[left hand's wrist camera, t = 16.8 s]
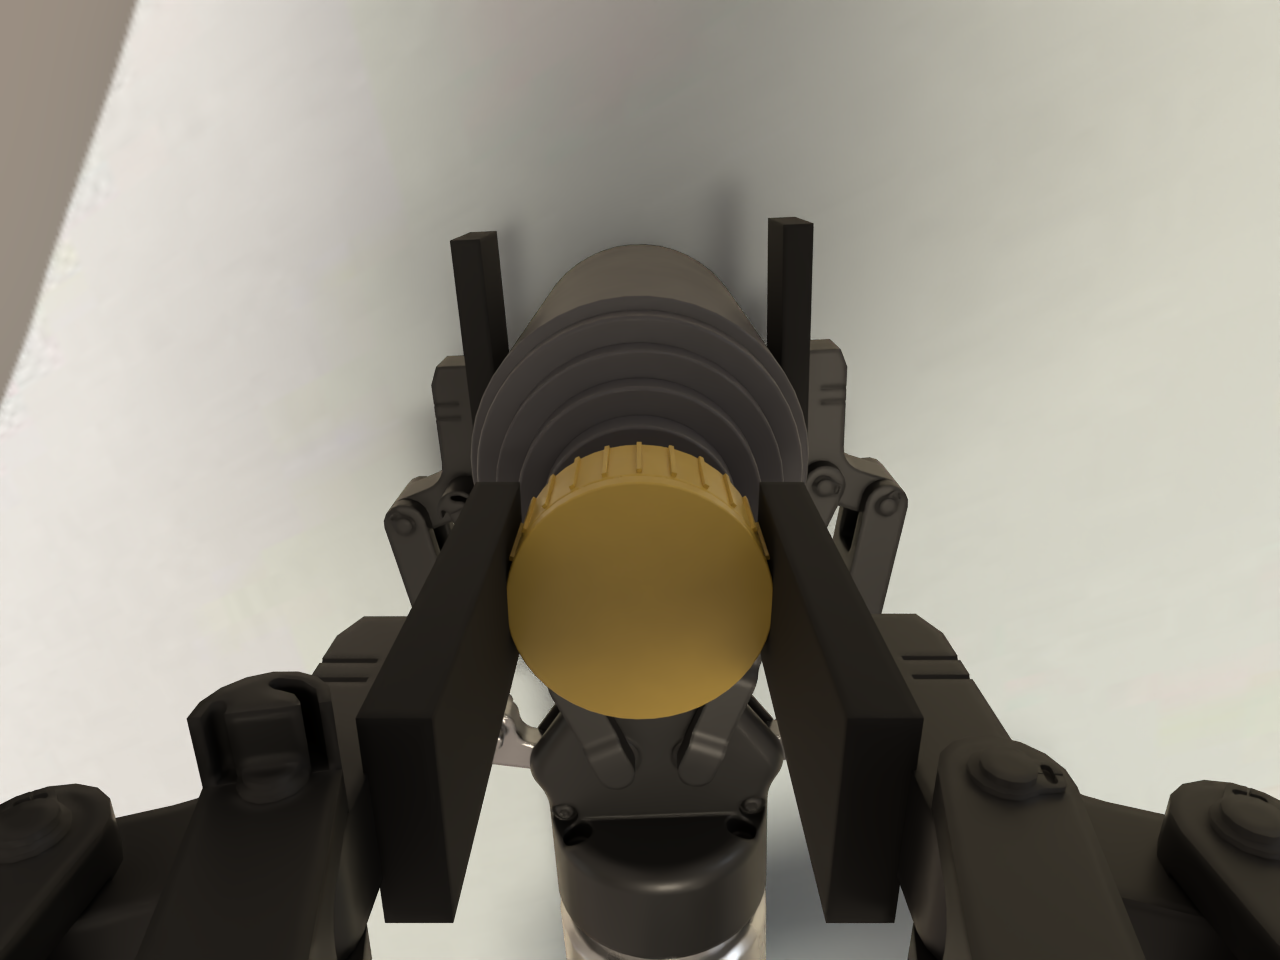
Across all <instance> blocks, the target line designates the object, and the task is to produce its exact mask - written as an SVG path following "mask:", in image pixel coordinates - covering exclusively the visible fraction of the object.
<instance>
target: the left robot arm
mask: <svg viewBox="0 0 1280 960" xmlns="http://www.w3.org/2000/svg"><path fill="white" fill-rule="evenodd" d="M757 522H759V525H760V528H761V531H762V534H763V537H764V540H765V543H766V546H767V550H768V553H769V556H770V559H769V560H767V563H768V566H769V569H770V573H771V576H772V581H773V592H772V609H771V624H770V631H769V634H768V637H767V640H766V642H765V644H764V646H763V648H762V650H761V652H760V655H761V659H762V663H763V667H764V671H765V675H766V679H767V683H768V687H769V691H770V695H771V700H772V704H773V708H774V712H775V716H776V720H777V724H778V728H779V732H780V736H781V740H782V744H783V749H784V753H785V757H786V761H787V765H788V769H789V773H790V777H791V781H792V785H793V789H794V794H795V798H796V802H797V806H798V810H799V814H800V818H801V822H802V826H803V830H804V834H805V839H806V843H807V847H808V851H809V855H810V859H811V863H812V867H813V871H814V875H815V879H816V884H817V888H818V892H819V896H820V900H821V904H822V908H823V912H824V916H825V920H826V923H894V922H895V915H896V908H897V901H898V894H899V887H900V886H901V888H902V891H903V894H904V897H905V900H906V902H907V905H908V908H909V911H910V913H911V916H912V919H913V929H912V935H911V941H910V948H909V954H908V960H1280V800H1278V799H1276V798H1274V797H1272V796H1270V795H1268V794H1266V793H1264V792H1260V791H1258V790H1255V789H1252V788H1247V787H1245V786H1241V785H1237V784H1234V783H1228V782H1219V781H1209V780H1202V781H1196V782H1191V783H1185V784H1182V785H1181V786H1180V787H1179V788H1178V789H1176V790H1175V791H1174V792H1173V793H1172V794H1171V795H1170V798H1169V802H1168V805H1167V809H1166V812H1165V815H1164V814H1160V813H1155V812H1150V811H1146V810H1141V809H1137V808H1132V807H1128V806H1123V805H1119V804H1114V803H1109V802H1105V801H1102V800H1098V799H1095V798H1091V797H1088V796H1084V795H1082V794H1080V792H1079V790H1078V787H1077V786H1076V784H1075V783H1074V781H1073V780H1072V778H1071V777H1070V775H1069V774H1068V772H1067V771H1066V770H1065V769H1064V768H1063V767H1062V766H1060V765H1059V764H1058V763H1057V762H1055V761H1054V760H1053V759H1051V758H1050V757H1049V756H1048V755H1046V754H1045V753H1043V752H1040V751H1038V750H1036V749H1034V748H1032V747H1030V746H1028V745H1025V744H1023V743H1021V742H1017V741H1013V740H1011V738H1010V737H1009V735H1008V734H1007V732H1006V731H1005V729H1004V727H1003V726H1002V724H1001V723H1000V721H999V720H998V718H997V717H996V715H995V713H994V712H993V710H992V709H991V707H990V706H989V704H988V703H987V701H986V699H985V698H984V696H983V695H982V693H981V692H980V690H979V689H978V687H977V685H976V684H975V682H974V681H973V679H970V678H969V673H968V671H967V670H966V668H965V667H964V665H963V664H962V662H961V661H960V660H958V659H957V654H956V653H955V651H954V650H953V648H952V647H951V645H950V643H949V642H948V640H947V639H946V637H945V636H944V634H943V633H942V632H940V631H939V630H938V629H936V628H935V627H933V626H932V625H931V624H929V623H928V622H926V621H925V620H924V619H922V618H921V617H919V616H918V615H917V614H871V613H870V611H869V609H868V607H867V606H866V604H865V602H864V600H863V598H862V596H861V594H860V592H859V590H858V588H857V586H856V584H855V582H854V580H853V578H852V576H851V574H850V572H849V570H848V568H847V566H846V564H845V562H844V560H843V559H842V557H841V555H840V553H839V551H838V549H837V547H836V545H835V543H834V541H833V539H832V537H831V535H830V533H829V531H828V529H827V527H826V525H825V523H824V521H823V519H822V517H821V515H820V514H819V512H818V510H817V508H816V506H815V504H814V502H813V500H812V498H811V496H810V494H809V492H808V490H807V488H806V486H805V484H804V482H760V483H759V502H758V520H757ZM520 523H522V511H521V493H520V482H476V483H475V485H474V487H473V489H472V491H471V493H470V495H469V497H468V499H467V501H466V503H465V505H464V507H463V509H462V510H461V512H460V514H459V516H458V518H457V520H456V522H455V524H454V526H453V528H452V530H451V532H450V534H449V536H448V538H447V540H446V542H445V544H444V546H443V548H442V550H441V552H440V554H439V555H438V557H437V559H436V561H435V563H434V565H433V567H432V569H431V571H430V573H429V575H428V577H427V579H426V581H425V583H424V585H423V587H422V589H421V591H420V593H419V595H418V597H417V599H416V600H415V602H414V604H413V606H412V608H411V610H410V612H409V614H408V616H364V617H363V618H361V619H360V620H358V621H357V622H356V623H354V624H353V625H351V626H350V627H349V628H347V629H346V630H344V631H343V632H342V633H340V634H339V635H337V637H336V638H335V640H334V641H333V643H332V644H331V646H330V648H329V649H328V651H327V652H326V654H325V655H324V657H323V658H322V659H323V661H322V663H319V665H318V666H317V668H316V669H315V671H314V673H313V674H312V675H309V674H305V673H302V672H270V673H265V674H261V675H256V676H251V677H246V678H244V679H241V680H239V681H237V682H234V683H232V684H229V685H227V686H224V687H222V688H220V689H218V690H217V691H216V692H214V693H213V694H211V695H210V696H208V697H207V698H205V699H204V700H202V701H201V702H199V704H198V705H197V706H196V707H195V709H194V710H193V711H192V713H191V714H190V715H189V716H188V718H187V722H188V726H189V730H190V735H191V739H192V743H193V748H194V752H195V756H196V761H197V765H198V769H199V773H200V778H201V782H202V786H203V789H202V791H201V794H200V796H199V798H197V799H194V800H190V801H187V802H183V803H180V804H176V805H173V806H168V807H163V808H159V809H154V810H150V811H145V812H141V813H136V814H132V815H127V816H123V817H118V818H115V815H114V811H113V808H112V804H111V800H110V798H109V797H108V796H107V795H106V794H104V793H103V792H102V791H101V790H100V789H99V788H97V787H91V786H86V785H81V784H68V785H58V786H49V787H45V788H42V789H38V790H34V791H32V792H28V793H25V794H22V795H19V796H16V797H14V798H12V799H10V800H8V801H6V802H4V803H2V804H0V960H372V955H371V948H370V942H369V935H368V929H367V922H368V919H369V916H370V913H371V911H372V908H373V905H374V902H375V899H376V897H377V894H378V891H379V888H380V891H381V898H382V905H383V912H384V919H385V923H453V922H454V918H455V914H456V910H457V906H458V902H459V898H460V894H461V890H462V885H463V881H464V877H465V873H466V869H467V865H468V861H469V857H470V853H471V849H472V845H473V841H474V836H475V832H476V828H477V824H478V820H479V816H480V812H481V808H482V804H483V800H484V796H485V791H486V787H487V783H488V779H489V775H490V771H491V767H492V763H493V759H494V755H495V751H496V746H497V742H498V738H499V734H500V730H501V726H502V722H503V718H504V714H505V710H506V706H507V701H508V697H509V693H510V689H511V685H512V681H513V677H514V673H515V669H516V665H517V661H518V657H519V652H518V650H517V648H516V646H515V643H514V641H513V639H512V636H511V633H510V629H509V617H508V602H507V579H508V573H509V570H510V567H511V564H512V561H510V559H509V557H510V554H511V551H512V548H513V545H514V542H515V539H516V536H517V533H518V530H519V527H520Z"/></svg>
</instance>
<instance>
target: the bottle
mask: <svg viewBox="0 0 1280 960" xmlns="http://www.w3.org/2000/svg"><path fill="white" fill-rule="evenodd" d="M637 442H642V445H653V446H662V447H667V448H668V447H669V445H671V446H674V449H675V450H678V451H681V452H684V453H687V454H690V455H692V456H694V457H696V458H698V457H699V456H701V457H703V458H704V462H706V463H707V464H709V465H710V466H712V467H713V468H714V469H716V470H717V471H719V472H720V473H721V474H722V475H724V474H725V473H726V474H727V475H728V476H729V479H730V482H731V483H732V485H733V486H734V487H735V488H736V489H737V490H738V492H739V493H740V494H741V496H742V497H744V496H746V497H747V499H748V502H749V505H750V508H751V511H752V514H753V517H754V520H755V523H756V522H757V520H758V502H759V483H760V482H804V484H806V479H807V473H808V456H809V451H808V438H807V430H806V425H805V421H804V416H803V412H802V409H801V406H800V404H799V401H798V399H797V396H796V393H795V391H794V389H793V387H792V385H791V383H790V382H789V380H788V378H787V376H786V374H785V373H784V371H783V369H782V368H781V367H780V365H779V364H778V362H777V361H776V359H775V358H774V356H773V355H772V354H771V352H770V351H769V349H768V348H767V346H766V345H765V343H764V342H763V340H762V339H761V338H760V336H759V335H758V333H757V332H756V330H755V329H754V327H753V326H752V325H751V323H750V322H749V320H748V319H747V317H746V316H745V314H744V313H743V311H742V310H741V309H740V307H739V306H738V304H737V303H736V301H735V300H734V298H733V297H732V296H731V294H730V293H729V291H728V290H727V289H726V287H725V286H724V285H723V283H722V282H721V281H720V280H719V279H718V278H717V277H716V276H715V275H714V274H713V273H712V272H711V271H710V270H709V269H708V268H706V267H705V266H704V265H702V264H701V263H700V262H698V261H696V260H695V259H693V258H691V257H689V256H688V255H685V254H683V253H681V252H678V251H676V250H673V249H669V248H665V247H661V246H655V245H646V244H639V245H625V246H619V247H614V248H611V249H607V250H604V251H601V252H599V253H597V254H595V255H592V256H590V257H588V258H587V259H585V260H583V261H582V262H580V263H579V264H577V265H576V266H575V267H573V268H572V269H571V270H570V271H569V272H567V273H566V274H565V275H564V276H563V277H562V279H561V280H560V281H559V282H558V283H557V284H556V285H555V287H554V288H553V290H552V291H551V292H550V294H549V295H548V297H547V298H546V300H545V301H544V303H543V304H542V306H541V307H540V308H539V310H538V311H537V313H536V314H535V316H534V317H533V319H532V320H531V321H530V323H529V324H528V326H527V327H526V329H525V330H524V332H523V333H522V335H521V336H520V337H519V339H518V340H517V342H516V343H515V345H514V346H513V348H512V349H511V350H510V352H509V353H508V355H507V356H506V358H505V359H504V361H503V362H502V364H501V365H500V366H499V368H498V369H497V371H496V372H495V374H494V375H493V377H492V378H491V380H490V382H489V384H488V386H487V388H486V390H485V392H484V394H483V396H482V399H481V402H480V405H479V408H478V411H477V414H476V418H475V423H474V428H473V434H472V445H471V465H472V475H473V482H474V485H475V483H476V482H520V493H521V511H522V523H523V524H524V521H525V517H526V514H527V511H528V508H529V505H530V502H531V499H532V498H533V497H535V498H537V497H538V495H539V494H540V492H541V491H542V490H543V488H544V487H545V486H546V485H547V484H548V482H549V478H550V476H551V475H552V474H554V475H555V476H556V475H557V474H559V473H560V472H561V471H562V470H563V469H565V468H566V467H568V466H569V465H571V464H573V463H574V460H575V458H577V457H578V456H579V457H580V459H581V458H583V457H585V456H588V455H590V454H592V453H595V452H598V451H602V450H604V447H605V446H608V445H609V446H610V448H613V447H619V446H625V445H637Z"/></svg>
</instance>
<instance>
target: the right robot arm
mask: <svg viewBox="0 0 1280 960" xmlns="http://www.w3.org/2000/svg"><path fill="white" fill-rule="evenodd" d="M450 245H451V253H452V261H453V269H454V277H455V286H456V294H457V302H458V310H459V318H460V327H461V335H462V343H463V351H464V355H461V356H447V357H446V358H445V359H444V360H443V361H442V362H441V363H440V364H439V365H438V366H437V367H436V369H435V373H434V377H433V381H432V385H431V386H432V394H433V401H434V405H435V407H434V408H435V415H436V419H437V420H436V422H437V430H438V437H439V444H440V451H441V459H442V470H441V471H440V472H438V473H435V474H433V475H430V476H428V477H427V476H419V477H416V478H414V479H412V480H411V481H410V482H409V483H408V484H407V486H406V487H405V489H404V490H403V491H402V493H401V494H400V496H399V497H398V498H397V500H396V501H395V502H394V504H393V505H392V507H391V508H390V509H389V511H388V512H387V514H386V516H385V519H384V525H385V530H386V533H387V536H388V539H389V542H390V545H391V548H392V551H393V553H394V556H395V559H396V562H397V565H398V568H399V571H400V574H401V577H402V580H403V582H404V585H405V588H406V591H407V594H408V597H409V600H410V603H411V606H413V604H414V602H415V600H416V599H417V597H418V595H419V593H420V591H421V589H422V587H423V585H424V583H425V581H426V579H427V577H428V575H429V573H430V571H431V569H432V567H433V565H434V563H435V561H436V559H437V557H438V555H439V554H440V552H441V550H442V548H443V546H444V544H445V542H446V540H447V538H448V536H449V534H450V532H451V530H452V528H453V526H454V524H455V522H456V520H457V518H458V516H459V514H460V512H461V510H462V509H463V507H464V505H465V503H466V501H467V499H468V497H469V495H470V493H471V491H472V489H473V487H474V482H473V475H472V465H471V445H472V434H473V428H474V423H475V418H476V414H477V411H478V408H479V405H480V402H481V399H482V396H483V394H484V392H485V390H486V388H487V386H488V384H489V382H490V380H491V378H492V377H493V375H494V374H495V372H496V371H497V369H498V368H499V366H500V365H501V364H502V362H503V361H504V359H505V358H506V356H507V355H508V353H509V347H508V337H507V327H506V317H505V308H504V298H503V288H502V279H501V269H500V259H499V249H498V240H497V231H489V232H470V233H468V234H465V235H463V236H460V237H458V238H455V239H453V240H451V241H450ZM812 259H813V223H811V222H808V221H805V220H802V219H799V218H796V217H783V218H768V294H767V348H768V349H769V351H770V352H771V354H772V355H773V356H774V358H775V359H776V361H777V362H778V364H779V365H780V367H781V368H782V369H783V371H784V373H785V374H786V376H787V378H788V380H789V382H790V383H791V385H792V387H793V389H794V391H795V393H796V396H797V399H798V401H799V404H800V406H801V409H802V412H803V416H804V421H805V425H806V430H807V438H808V451H809V456H808V473H807V479H806V484H805V486H806V488H807V490H808V492H809V494H810V496H811V498H812V500H813V502H814V504H815V506H816V508H817V510H818V512H819V514H820V515H821V517H822V519H823V521H824V523H825V525H826V527H827V526H828V524H829V522H830V520H831V518H832V516H833V514H834V512H835V510H836V508H837V506H840V508H839V512H838V517H837V522H836V526H835V531H834V536H833V541H834V543H835V545H836V547H837V549H838V551H839V553H840V555H841V557H842V559H843V560H844V562H845V564H846V566H847V568H848V570H849V572H850V574H851V576H852V578H853V580H854V582H855V584H856V586H857V588H858V590H859V592H860V594H861V596H862V598H863V600H864V602H865V604H866V606H867V607H868V609H869V611H870V613H871V614H881V613H882V609H883V605H884V601H885V597H886V593H887V589H888V585H889V580H890V576H891V572H892V568H893V564H894V560H895V556H896V552H897V548H898V544H899V540H900V536H901V532H902V528H903V524H904V520H905V515H906V511H907V507H908V499H907V496H906V494H905V492H904V491H903V490H902V488H901V487H900V486H899V485H898V483H897V482H896V481H895V480H894V478H893V477H892V476H891V475H890V474H889V472H888V471H887V470H886V469H885V467H884V466H883V465H882V464H881V463H880V462H879V461H878V460H876V459H873V458H870V457H869V458H858V457H854V456H851V455H848V454H846V453H844V427H845V404H846V403H845V400H846V382H847V365H846V362H845V360H844V357H843V354H842V352H841V349H840V348H839V347H838V346H837V345H835V344H834V343H833V342H832V341H831V340H830V339H821V340H810V331H811V295H812ZM453 523H454V524H453ZM761 661H762V659H761V655H760V654H759V656H758V657H757V659H756V660H755V662H754V663H753V665H752V666H751V668H750V669H749V670H748V671H747V672H746V673H745V675H744V676H743V677H742V678H741V679H740V680H739V681H738V682H737V683H736V684H734V685H733V686H732V687H731V688H730V689H729V690H727V691H726V692H724V693H723V694H721V695H720V696H719V697H717V698H716V699H714V700H712V701H710V702H708V703H706V704H704V705H702V706H700V707H698V708H695V709H693V710H690V711H687V712H684V713H680V714H677V715H673V716H668V717H662V718H655V719H626V718H617V717H612V716H606V715H602V714H599V713H596V712H592V711H589V710H586V709H584V708H582V707H579V706H577V705H575V704H573V703H571V702H569V701H568V700H566V699H564V698H562V697H561V696H559V695H558V694H556V693H555V692H554V691H552V690H551V689H550V688H548V690H549V693H550V695H551V697H552V699H553V700H554V702H555V705H554V706H553V707H552V709H551V710H550V711H549V713H548V714H547V715H546V717H545V718H544V719H543V721H542V722H541V724H540V725H539V726H538V728H535V727H531V726H529V725H527V724H525V723H524V722H523V721H522V719H521V717H520V714H519V709H518V707H517V705H516V704H515V703H514V702H513V698H512V696H511V695H510V694H509V697H508V701H507V706H506V710H505V714H504V718H503V722H502V726H501V730H500V734H499V738H498V742H497V746H496V751H495V755H494V759H493V763H492V764H497V765H505V766H514V767H522V768H530V769H531V772H532V775H533V777H534V779H535V780H536V782H537V783H538V784H539V785H540V786H541V788H542V789H543V790H544V792H545V793H546V795H547V797H548V800H549V803H550V811H551V820H552V829H553V838H554V848H555V857H556V866H557V876H558V885H559V892H560V895H561V906H560V907H561V916H562V924H563V932H564V941H565V949H566V957H567V960H766V891H765V885H766V864H767V795H768V790H769V787H770V785H771V783H772V781H773V780H774V778H775V777H776V775H777V774H778V772H779V771H780V769H781V767H782V764H783V760H786V757H785V753H784V749H783V744H782V740H781V736H780V732H779V728H778V724H777V720H776V719H775V720H774V719H773V718H772V717H771V715H770V714H769V713H768V712H767V711H766V710H765V709H764V708H763V706H762V705H761V704H760V703H759V702H758V701H757V700H756V699H755V697H754V696H753V695H752V693H753V691H754V689H755V687H756V683H757V679H758V672H759V667H760V664H761Z"/></svg>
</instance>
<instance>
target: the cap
mask: <svg viewBox="0 0 1280 960" xmlns="http://www.w3.org/2000/svg"><path fill="white" fill-rule="evenodd" d="M509 559H510V561H512V564H511V567H510V570H509V573H508V579H507V602H508V617H509V629H510V633H511V636H512V639H513V641H514V643H515V646H516V648H517V650H518V652H519V653H520V655H521V657H522V658H523V660H524V662H525V663H526V664H527V666H528V667H529V668H530V669H531V671H532V672H533V673H534V674H535V676H536V677H538V678H539V679H540V680H541V681H542V682H543V683H544V684H545V685H546V686H547V687H548V688H550V689H551V690H552V691H554V692H555V693H556V694H558V695H559V696H561V697H562V698H564V699H566V700H568V701H569V702H571V703H573V704H575V705H577V706H579V707H582V708H584V709H586V710H589V711H592V712H596V713H599V714H602V715H606V716H612V717H617V718H626V719H655V718H662V717H668V716H673V715H677V714H680V713H684V712H687V711H690V710H693V709H695V708H698V707H700V706H702V705H704V704H706V703H708V702H710V701H712V700H714V699H716V698H717V697H719V696H720V695H721V694H723V693H724V692H726V691H727V690H729V689H730V688H731V687H732V686H733V685H734V684H736V683H737V682H738V681H739V680H740V679H741V678H742V677H743V676H744V675H745V673H746V672H747V671H748V670H749V669H750V668H751V666H752V665H753V663H754V662H755V660H756V659H757V657H758V656H759V654H760V652H761V650H762V648H763V646H764V644H765V642H766V640H767V637H768V634H769V631H770V624H771V609H772V592H773V581H772V576H771V573H770V569H769V566H768V563H767V560H769V559H770V556H769V553H768V550H767V546H766V543H765V540H764V537H763V534H762V531H761V528H760V525H759V522H756V523H755V520H754V517H753V514H752V511H751V508H750V505H749V502H748V499H747V497H746V496H744V497H742V496H741V494H740V493H739V492H738V490H737V489H736V488H735V487H734V486H733V485H732V483H731V482H730V479H729V476H728V475H727V474H726V473H725V474H724V475H722V474H721V473H720V472H719V471H717V470H716V469H714V468H713V467H712V466H710V465H709V464H707V463H706V462H704V458H703V457H701V456H699V457H698V458H696V457H694V456H692V455H690V454H687V453H684V452H681V451H678V450H675V449H674V446H671V445H669V447H668V448H667V447H662V446H653V445H642V442H637V445H625V446H619V447H613V448H610V446H609V445H608V446H605V447H604V450H602V451H598V452H595V453H592V454H590V455H588V456H585V457H583V458H581V459H580V457H579V456H578V457H577V458H575V460H574V463H573V464H571V465H569V466H568V467H566V468H565V469H563V470H562V471H561V472H560V473H559V474H557V475H556V476H555V475H554V474H552V475H551V476H550V478H549V482H548V484H547V485H546V486H545V487H544V488H543V490H542V491H541V492H540V494H539V495H538V497H537V498H535V497H533V498H532V499H531V502H530V505H529V508H528V511H527V514H526V517H525V521H524V524H523V523H520V527H519V530H518V533H517V536H516V539H515V542H514V545H513V548H512V551H511V554H510V557H509Z"/></svg>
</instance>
